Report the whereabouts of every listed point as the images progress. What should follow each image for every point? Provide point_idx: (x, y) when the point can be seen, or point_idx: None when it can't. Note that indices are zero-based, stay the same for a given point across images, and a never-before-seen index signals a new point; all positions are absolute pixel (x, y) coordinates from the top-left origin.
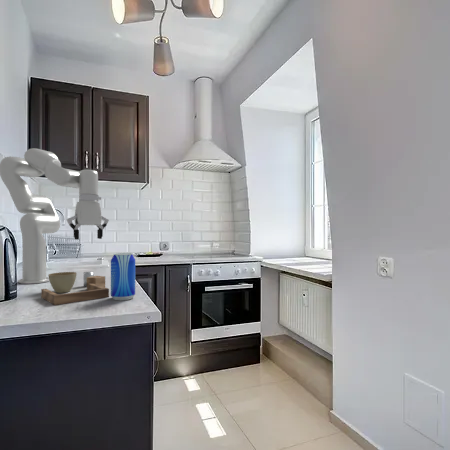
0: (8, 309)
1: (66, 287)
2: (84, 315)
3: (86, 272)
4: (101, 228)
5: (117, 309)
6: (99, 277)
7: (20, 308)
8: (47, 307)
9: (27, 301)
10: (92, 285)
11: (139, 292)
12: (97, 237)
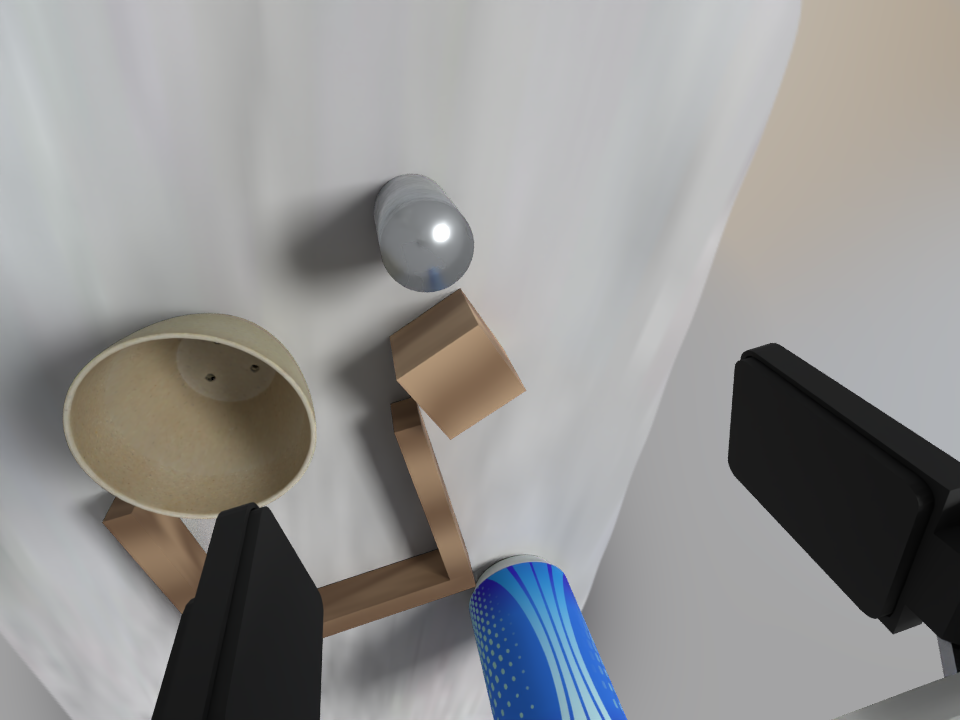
0: (38, 654)
1: (254, 430)
2: None
3: (407, 255)
4: (955, 645)
5: (453, 696)
6: (480, 418)
7: (91, 648)
8: None
9: (68, 547)
10: (415, 486)
11: (613, 506)
12: (748, 370)
